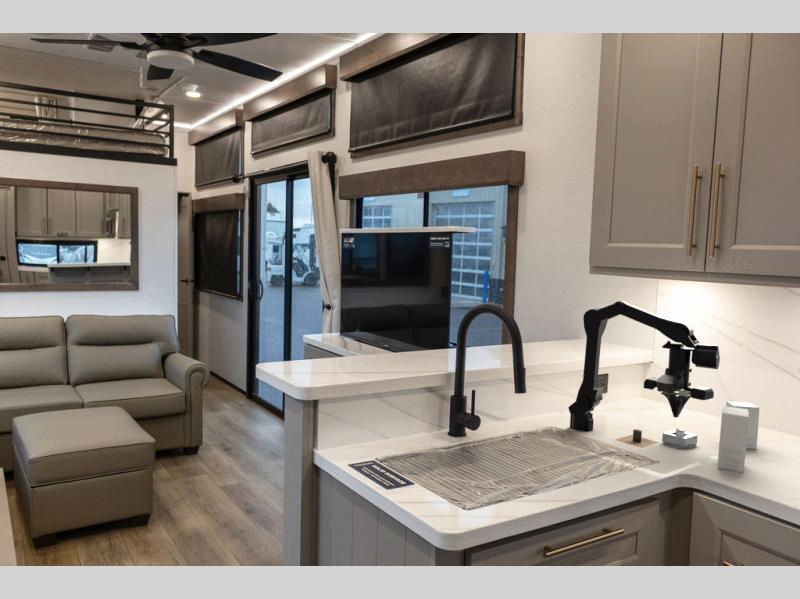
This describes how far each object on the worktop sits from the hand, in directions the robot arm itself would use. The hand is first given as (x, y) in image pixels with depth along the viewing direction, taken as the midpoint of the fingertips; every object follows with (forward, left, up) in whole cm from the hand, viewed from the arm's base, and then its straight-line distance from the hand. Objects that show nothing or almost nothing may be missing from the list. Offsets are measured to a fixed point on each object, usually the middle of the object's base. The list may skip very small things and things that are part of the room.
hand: (675, 417), depth 186 cm
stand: (-9, -5, -10) cm, 14 cm away
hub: (0, +3, -10) cm, 10 cm away
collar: (0, +3, -8) cm, 9 cm away
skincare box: (+17, -1, -10) cm, 20 cm away
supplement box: (+9, +22, -10) cm, 26 cm away
